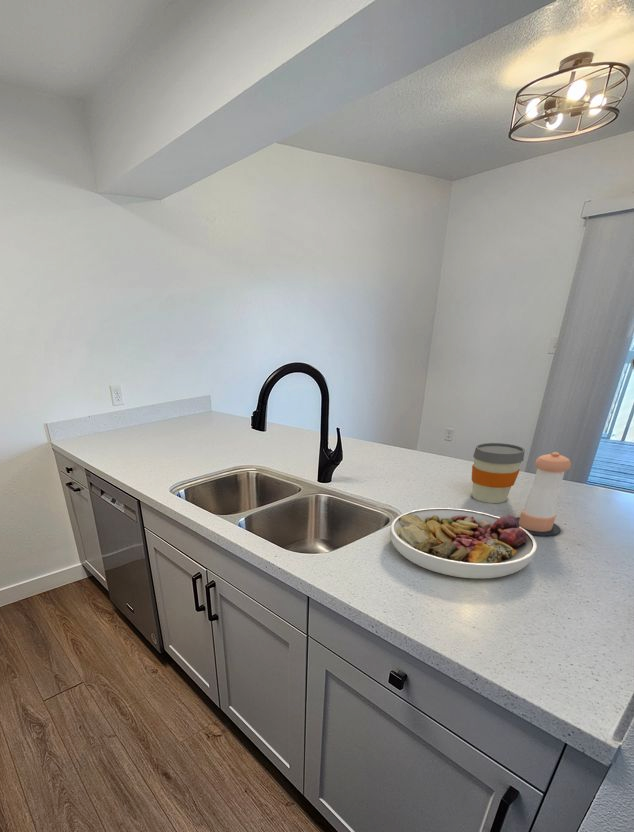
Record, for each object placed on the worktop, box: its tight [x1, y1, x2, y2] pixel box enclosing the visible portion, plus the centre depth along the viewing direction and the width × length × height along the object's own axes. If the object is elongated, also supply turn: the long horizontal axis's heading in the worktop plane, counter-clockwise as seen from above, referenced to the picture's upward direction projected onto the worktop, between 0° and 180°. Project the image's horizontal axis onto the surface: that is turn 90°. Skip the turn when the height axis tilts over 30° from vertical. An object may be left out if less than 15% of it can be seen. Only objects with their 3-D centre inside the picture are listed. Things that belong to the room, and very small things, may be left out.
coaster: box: [516, 516, 561, 537], centre depth 111 cm, size 11×11×1 cm
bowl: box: [389, 507, 538, 580], centre depth 101 cm, size 30×30×8 cm
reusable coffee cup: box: [471, 442, 526, 504], centre depth 127 cm, size 13×13×15 cm
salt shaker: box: [519, 451, 572, 532], centre depth 107 cm, size 7×7×19 cm
